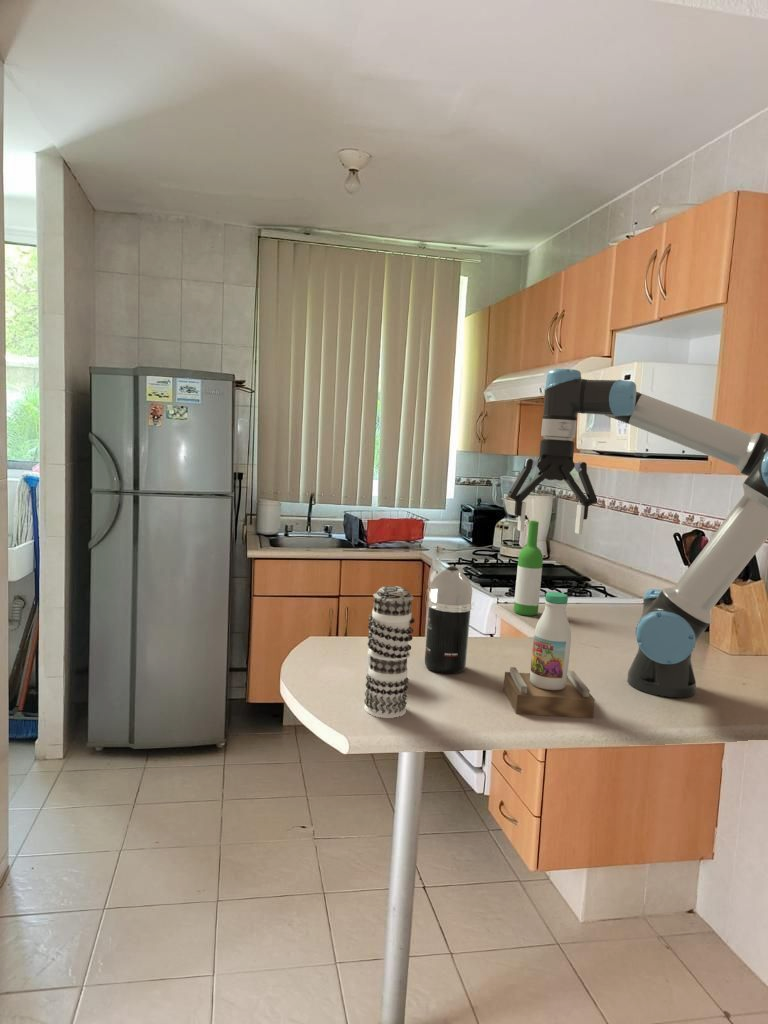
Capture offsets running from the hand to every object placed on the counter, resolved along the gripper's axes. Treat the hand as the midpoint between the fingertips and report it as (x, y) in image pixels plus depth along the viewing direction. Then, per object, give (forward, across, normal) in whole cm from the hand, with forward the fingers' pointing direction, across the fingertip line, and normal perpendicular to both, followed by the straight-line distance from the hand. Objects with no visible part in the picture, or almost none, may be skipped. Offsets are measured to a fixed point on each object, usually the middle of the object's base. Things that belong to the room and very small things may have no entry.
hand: (549, 532), depth 167 cm
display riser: (+35, -2, -14) cm, 38 cm away
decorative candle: (+35, -37, -21) cm, 55 cm away
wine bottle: (+35, +15, +63) cm, 74 cm away
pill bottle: (+35, -36, -2) cm, 51 cm away
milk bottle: (+31, -2, -14) cm, 34 cm away
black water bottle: (+35, -21, +6) cm, 41 cm away
